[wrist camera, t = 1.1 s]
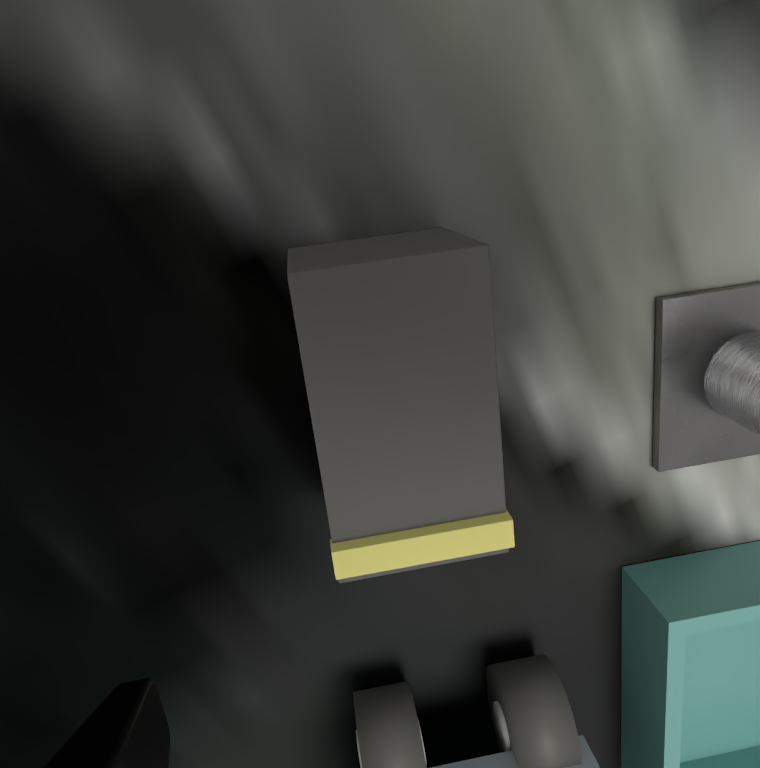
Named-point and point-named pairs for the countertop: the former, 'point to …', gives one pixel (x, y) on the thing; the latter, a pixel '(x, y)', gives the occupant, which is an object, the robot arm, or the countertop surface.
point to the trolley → (509, 715)
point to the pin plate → (697, 375)
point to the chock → (403, 398)
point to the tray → (692, 660)
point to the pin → (736, 381)
